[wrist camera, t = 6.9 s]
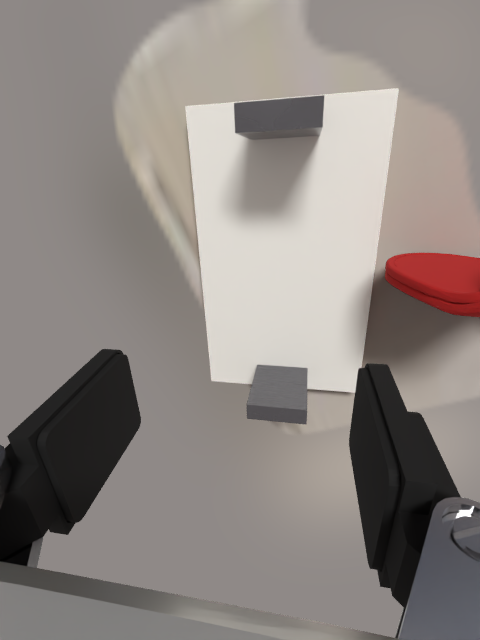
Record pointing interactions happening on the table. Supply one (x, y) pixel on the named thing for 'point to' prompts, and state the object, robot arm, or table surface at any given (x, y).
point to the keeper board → (289, 239)
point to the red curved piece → (438, 280)
